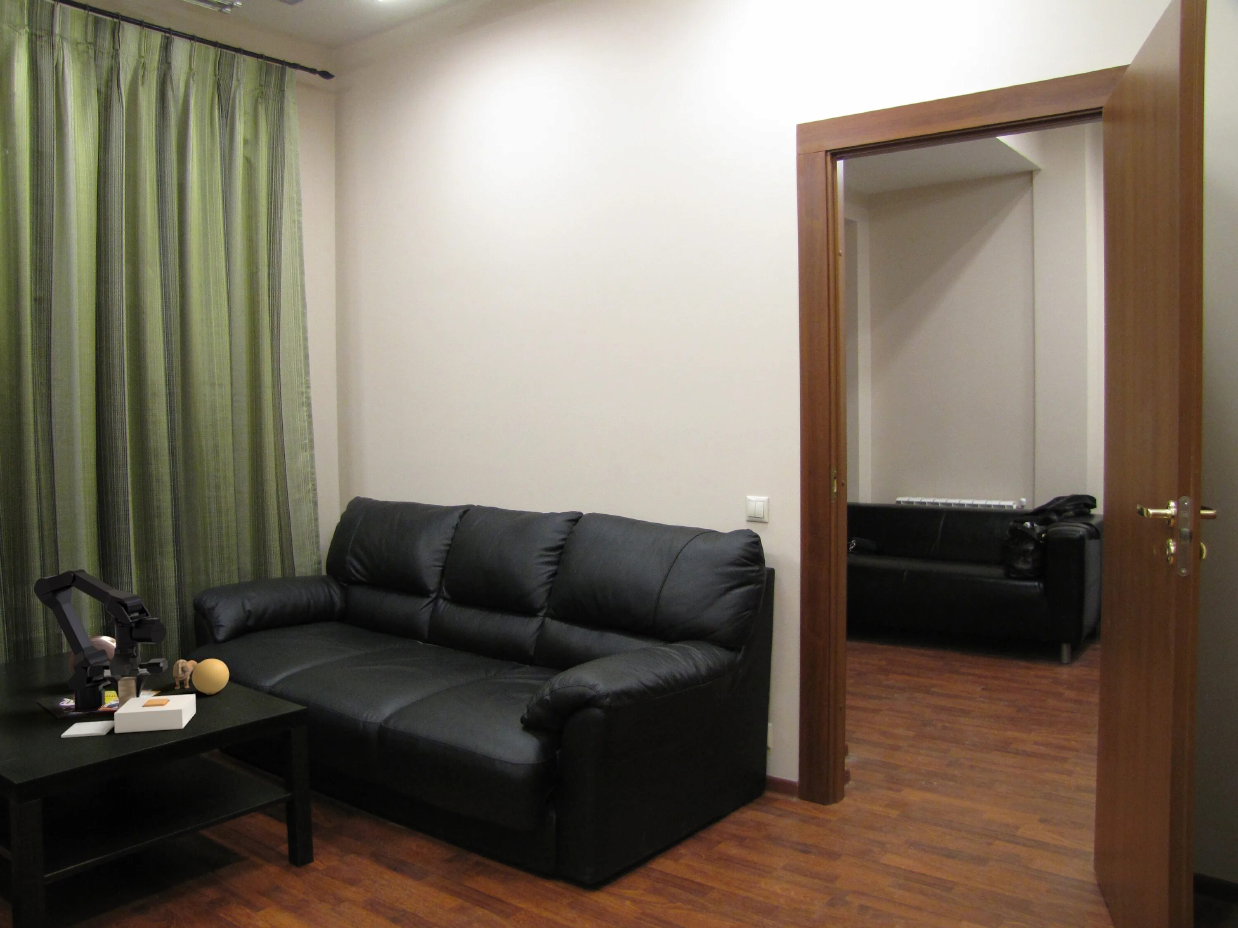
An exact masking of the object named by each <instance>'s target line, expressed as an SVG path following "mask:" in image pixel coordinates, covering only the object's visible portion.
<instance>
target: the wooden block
mask: <svg viewBox="0 0 1238 928" xmlns="http://www.w3.org/2000/svg"><path fill="white" fill-rule="evenodd" d="M136 688H137V678H136V676H126V677H121V679H120V680H119V681H118V690H119V699H118V710H119V709H120V708H121V707H122V706H123V705H124V704H125V703H126V702H127V701H128V700H130V699H131V698H136Z"/></svg>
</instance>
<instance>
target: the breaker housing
mask: <svg viewBox="0 0 1238 928" xmlns="http://www.w3.org/2000/svg"><path fill="white" fill-rule="evenodd" d="M167 698H168V700H169V702H168V703H167V704H166V705H165V706H154V707H144V704H145V703H146V702H147V701H148V700H150V699H167ZM196 703H197V702H196V693H193V694H177V695H176V694H174V695H160V696H143V697H142V696H141V697H139V698H131V699H130V700H128V701H127V702H126V703H125V704H124V705H123V706H122V707H121V708H120V709H119V708H118V709H117V710H116V711H115V712H114V714H113V715H114V717H113V719H114V720H113V721H114V722H115V726H114V733H115V734H119V733H120V734H121V733H133V732H134V733H135V732H149V731H152V732H153V731H162V730H163V731H164V730H179V729H181V730H182V729H184V728H185V726H186V725H187V724H188V723H189V721H191V719H192V717H194V715H195V714H196V713H197V711H196V710H197V708H196V707H197V706H196V705H197V704H196Z"/></svg>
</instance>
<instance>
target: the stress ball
mask: <svg viewBox="0 0 1238 928" xmlns="http://www.w3.org/2000/svg"><path fill="white" fill-rule="evenodd" d="M191 676H192V677H191V682H192V684H193V685H194V687H195V689H196V690H198V691H199V692H201V693H203V694H206V695H208V696H209V695H215V694H216V693H218V692H219V691H221V690H222V689H224V688H225V686H226V685H227V684H228V682H229V677H230V672H229V668H228V666H227V664H225V663H224V661H222V660H219V659H216V658H208V659H206V658H205V659H204V660H202V661H200V662H197V665H196V667H195V668H194V670H192V675H191Z"/></svg>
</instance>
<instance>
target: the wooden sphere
mask: <svg viewBox="0 0 1238 928" xmlns="http://www.w3.org/2000/svg"><path fill="white" fill-rule="evenodd" d="M89 639H90V641H91V643H92V645H93V646H94V647H95V648H96V649H98V650H101V649H104V650H105V651H106V653H107V656H108V657H109V659H110V660H112V658H113V656H114V651H115V648H116V639H115V638H113V637H111V636H105V635H95V636H91V637H89ZM68 663H69V664H68V665H69V666H68V667H69V671H70V673H71V675H72V676H73V675H74V674H75V671H74V668H73V664H74V653H73V651H72V652H71V654H70V657H69V661H68ZM72 676H71V677H72ZM102 684H103V687H105V686H107V685H109V684H111V682H110V681H109V680H107V682H106V683H102Z"/></svg>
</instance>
